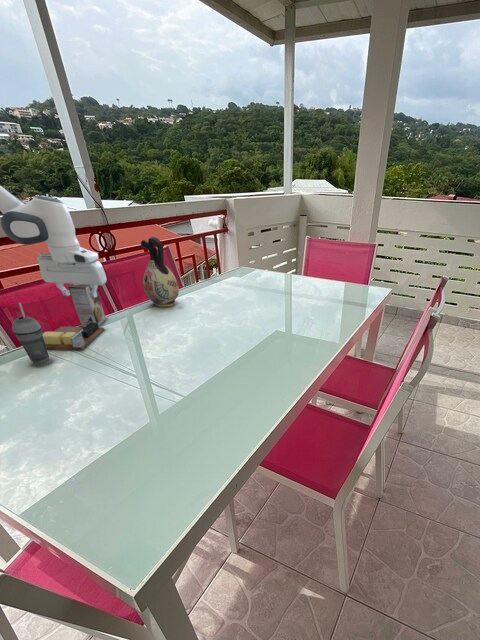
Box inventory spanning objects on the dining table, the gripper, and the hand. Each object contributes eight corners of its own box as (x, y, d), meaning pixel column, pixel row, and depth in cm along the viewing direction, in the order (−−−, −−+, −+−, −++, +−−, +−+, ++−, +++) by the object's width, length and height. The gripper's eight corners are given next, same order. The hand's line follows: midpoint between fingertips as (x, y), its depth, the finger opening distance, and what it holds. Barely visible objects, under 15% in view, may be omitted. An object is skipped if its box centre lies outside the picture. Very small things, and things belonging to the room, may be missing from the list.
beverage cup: (38, 357, 110) (12, 297, 99) (60, 358, 110) (36, 299, 99) (23, 367, 104) (-7, 306, 93) (46, 369, 104) (18, 307, 93)
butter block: (42, 344, 116) (39, 336, 114) (49, 339, 119) (45, 331, 117) (60, 344, 116) (57, 336, 115) (66, 339, 120) (63, 331, 118)
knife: (70, 347, 115) (67, 338, 113) (92, 328, 129) (90, 320, 127) (77, 347, 115) (74, 338, 113) (99, 328, 129) (96, 320, 127)
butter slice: (64, 344, 116) (61, 336, 115) (70, 339, 120) (67, 332, 118) (73, 344, 117) (70, 336, 115) (78, 339, 120) (75, 332, 118)
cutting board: (34, 349, 115) (33, 346, 114) (62, 329, 129) (61, 326, 129) (82, 350, 116) (81, 347, 115) (104, 330, 131) (103, 327, 130)
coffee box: (90, 319, 139) (77, 279, 130) (106, 319, 140) (95, 280, 131) (80, 327, 132) (66, 286, 123) (98, 327, 133) (85, 286, 123)
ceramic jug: (140, 304, 157) (124, 235, 140) (167, 297, 167) (156, 231, 150) (162, 313, 149) (149, 240, 132) (190, 304, 160) (180, 236, 143)
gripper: (28, 254, 105) (44, 297, 113) (92, 258, 106) (104, 300, 113) (41, 250, 111) (56, 292, 118) (102, 254, 111) (113, 295, 119)
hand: (80, 296), depth 116 cm, fingers open, 8 cm apart
